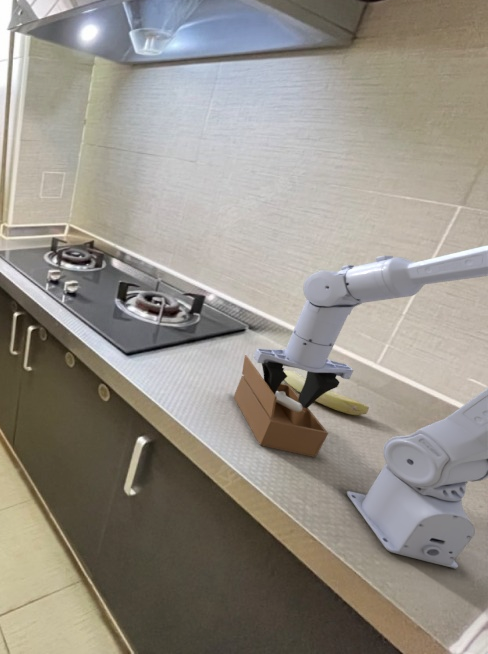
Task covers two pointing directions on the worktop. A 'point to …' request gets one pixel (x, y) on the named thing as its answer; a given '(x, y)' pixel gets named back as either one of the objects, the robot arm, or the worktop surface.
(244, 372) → the brown box flap
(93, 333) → the worktop surface
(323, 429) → the carton
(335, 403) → the fruit
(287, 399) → the small white plastic part
